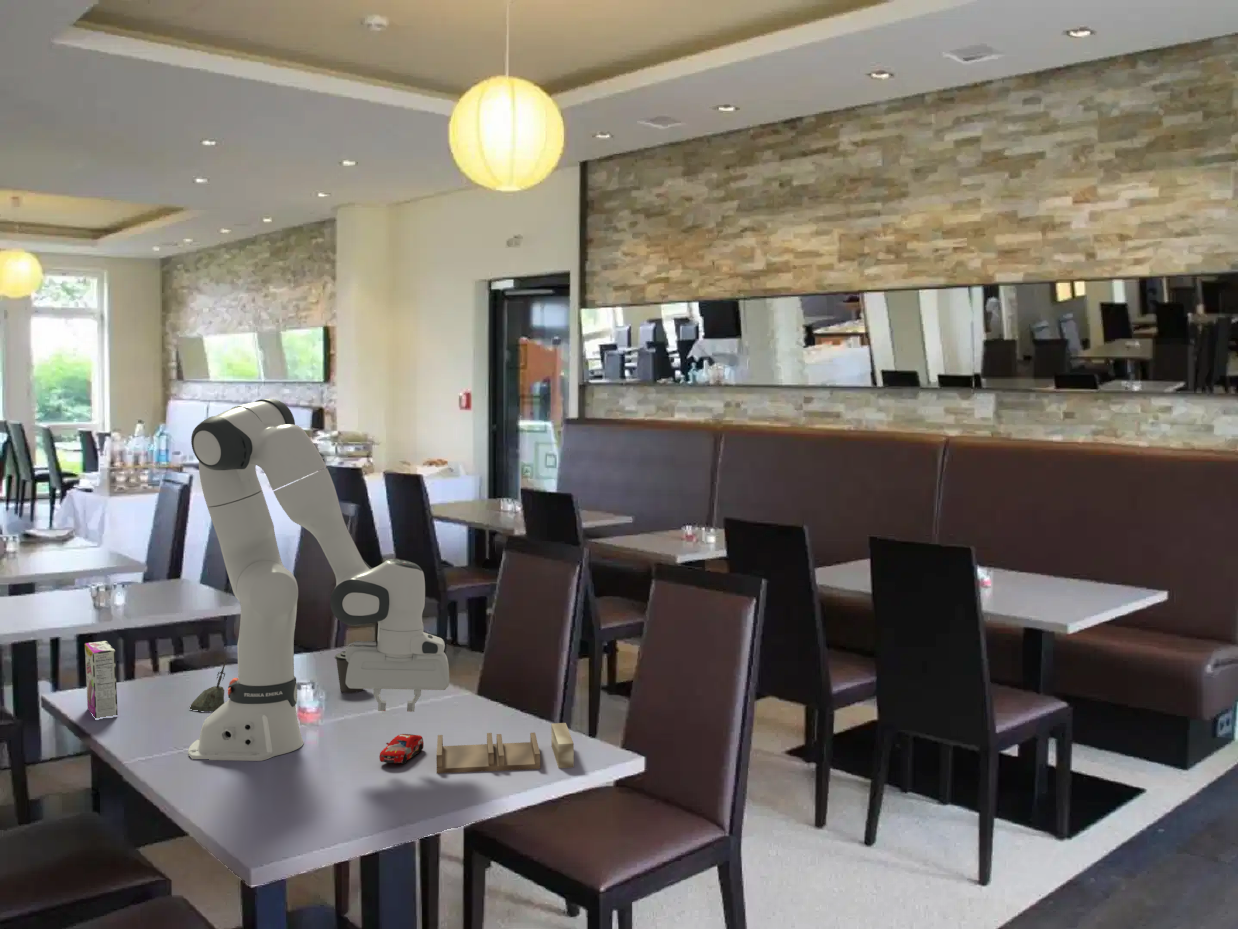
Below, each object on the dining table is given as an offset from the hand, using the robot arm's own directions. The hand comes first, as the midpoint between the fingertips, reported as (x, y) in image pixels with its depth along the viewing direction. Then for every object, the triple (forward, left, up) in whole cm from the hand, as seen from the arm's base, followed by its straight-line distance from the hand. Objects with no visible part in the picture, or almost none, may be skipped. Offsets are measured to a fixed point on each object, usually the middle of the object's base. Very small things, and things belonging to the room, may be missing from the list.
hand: (396, 710), depth 221 cm
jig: (+18, -1, -11) cm, 21 cm away
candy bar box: (-68, +42, -11) cm, 81 cm away
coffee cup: (-14, +56, -11) cm, 59 cm away
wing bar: (+33, -1, -11) cm, 35 cm away
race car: (+1, -1, -12) cm, 12 cm away
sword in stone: (-45, +44, -11) cm, 64 cm away
